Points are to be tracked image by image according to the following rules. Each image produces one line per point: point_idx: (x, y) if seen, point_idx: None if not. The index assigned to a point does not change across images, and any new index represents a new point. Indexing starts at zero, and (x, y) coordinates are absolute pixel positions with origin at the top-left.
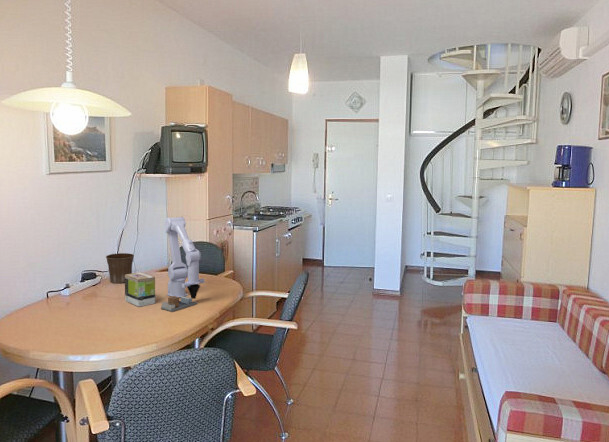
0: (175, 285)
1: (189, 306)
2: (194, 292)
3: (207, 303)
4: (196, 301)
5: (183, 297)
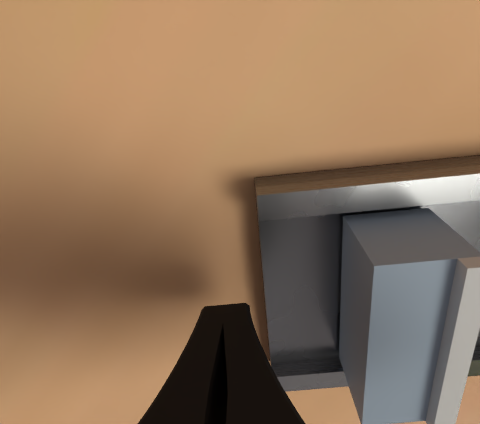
0: None
1: (428, 160)
2: (261, 399)
3: (86, 79)
4: (259, 207)
5: (464, 379)
